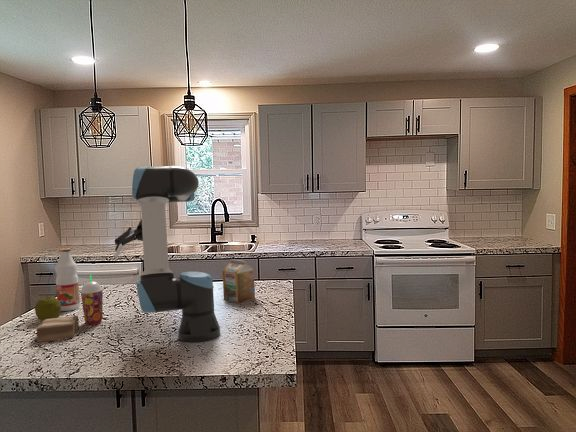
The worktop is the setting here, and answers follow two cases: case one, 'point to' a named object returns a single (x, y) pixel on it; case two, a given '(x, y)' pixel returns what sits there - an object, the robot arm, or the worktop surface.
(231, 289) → the milk carton
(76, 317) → the brown flat block
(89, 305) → the smoothie
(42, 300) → the apple
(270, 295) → the worktop surface
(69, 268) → the fruit juice
